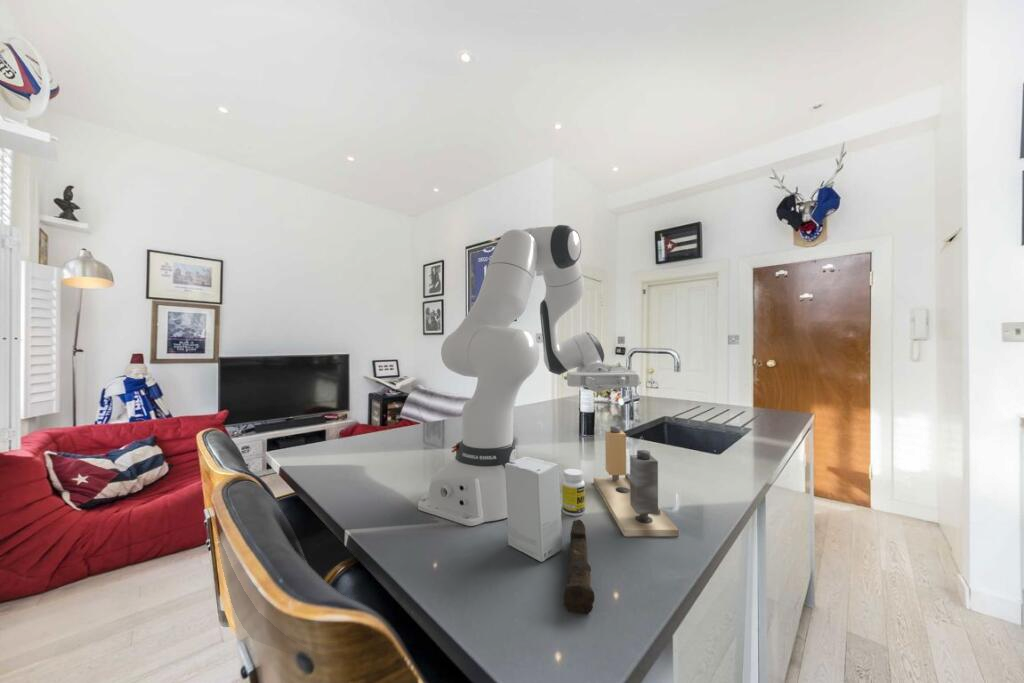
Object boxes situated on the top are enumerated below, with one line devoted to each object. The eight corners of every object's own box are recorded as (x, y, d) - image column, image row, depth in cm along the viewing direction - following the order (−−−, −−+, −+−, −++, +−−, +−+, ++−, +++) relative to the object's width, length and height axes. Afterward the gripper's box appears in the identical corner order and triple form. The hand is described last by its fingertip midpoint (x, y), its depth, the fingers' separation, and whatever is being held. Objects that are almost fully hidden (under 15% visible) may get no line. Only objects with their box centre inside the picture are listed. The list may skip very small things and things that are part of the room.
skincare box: (563, 550, 64) (562, 464, 64) (540, 565, 60) (539, 473, 60) (527, 532, 70) (527, 453, 70) (504, 544, 66) (504, 461, 66)
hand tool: (594, 619, 49) (594, 583, 48) (563, 614, 49) (563, 579, 49) (593, 542, 67) (594, 516, 67) (571, 539, 68) (571, 514, 68)
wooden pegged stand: (624, 536, 68) (624, 458, 68) (593, 482, 94) (593, 425, 94) (678, 536, 68) (678, 458, 68) (633, 482, 94) (632, 425, 94)
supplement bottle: (579, 518, 75) (579, 477, 75) (558, 513, 78) (558, 473, 78) (588, 509, 79) (588, 470, 79) (567, 504, 82) (567, 466, 82)
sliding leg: (609, 482, 90) (609, 429, 90) (605, 476, 94) (605, 425, 94) (626, 482, 90) (625, 429, 90) (621, 476, 94) (621, 425, 94)
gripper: (562, 366, 112) (569, 370, 98) (630, 366, 112) (646, 370, 98) (563, 387, 112) (569, 394, 98) (630, 387, 112) (646, 393, 98)
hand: (608, 382), depth 98 cm, fingers open, 6 cm apart
